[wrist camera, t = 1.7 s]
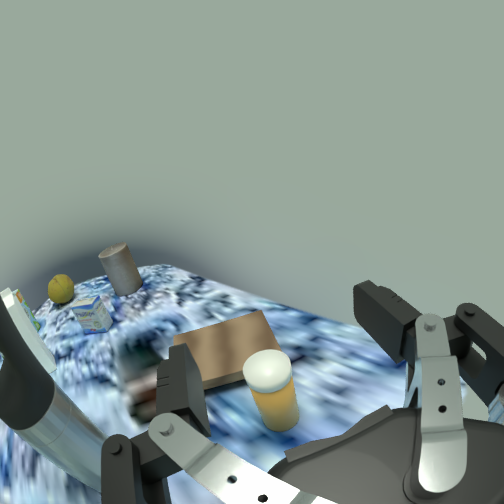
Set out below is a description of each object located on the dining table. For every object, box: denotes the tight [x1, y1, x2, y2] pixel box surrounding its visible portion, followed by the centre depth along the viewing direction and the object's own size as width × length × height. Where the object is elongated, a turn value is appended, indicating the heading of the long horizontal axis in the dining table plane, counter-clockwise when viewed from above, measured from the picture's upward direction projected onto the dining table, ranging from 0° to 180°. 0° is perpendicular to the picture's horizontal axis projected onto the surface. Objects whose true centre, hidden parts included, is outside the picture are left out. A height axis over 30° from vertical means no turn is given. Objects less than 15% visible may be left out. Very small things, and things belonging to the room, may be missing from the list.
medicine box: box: [71, 295, 113, 334], centre depth 59 cm, size 8×4×9 cm, turn 93°
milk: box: [0, 288, 57, 374], centre depth 43 cm, size 6×6×22 cm
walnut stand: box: [174, 310, 282, 396], centre depth 43 cm, size 17×13×4 cm
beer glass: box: [243, 349, 299, 432], centre depth 30 cm, size 5×5×12 cm
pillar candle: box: [99, 243, 143, 296], centre depth 76 cm, size 10×10×15 cm
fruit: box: [48, 274, 74, 303], centre depth 78 cm, size 11×12×10 cm
